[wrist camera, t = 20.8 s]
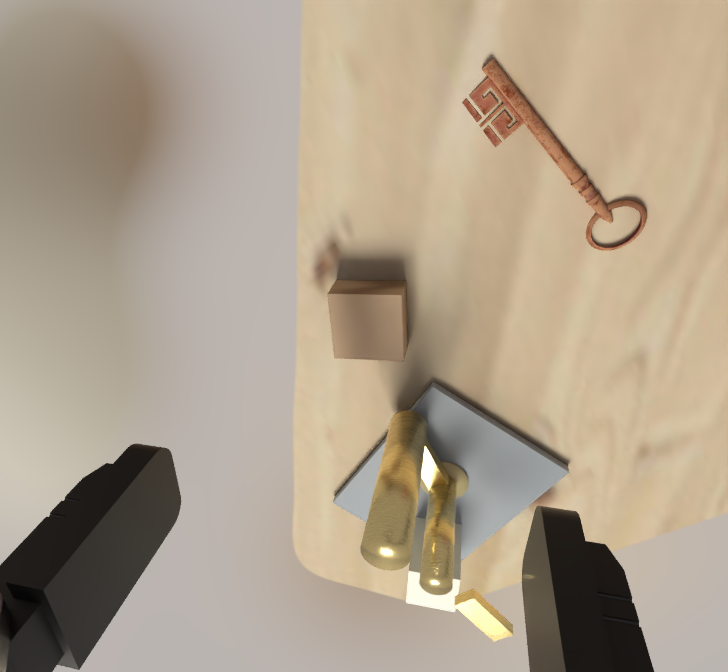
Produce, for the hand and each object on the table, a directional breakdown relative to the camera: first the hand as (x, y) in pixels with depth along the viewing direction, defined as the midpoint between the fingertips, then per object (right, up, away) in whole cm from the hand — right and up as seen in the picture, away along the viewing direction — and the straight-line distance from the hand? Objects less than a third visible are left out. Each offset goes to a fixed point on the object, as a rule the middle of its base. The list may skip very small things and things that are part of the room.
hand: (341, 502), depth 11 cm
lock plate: (+8, -10, +36) cm, 38 cm away
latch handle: (+8, -9, +34) cm, 36 cm away
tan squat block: (+1, +6, +30) cm, 30 cm away
